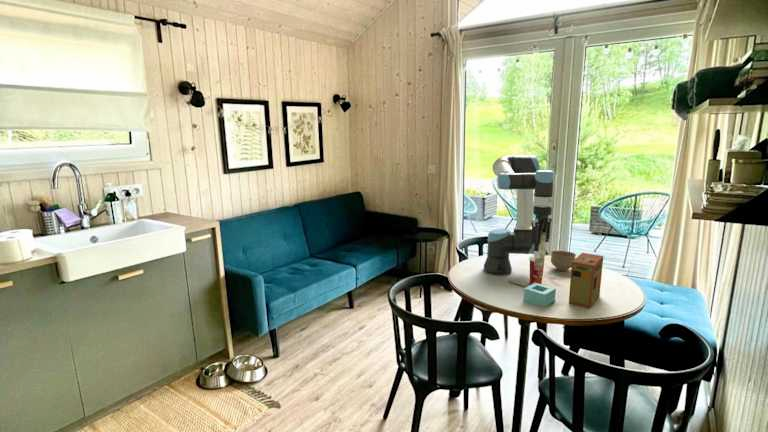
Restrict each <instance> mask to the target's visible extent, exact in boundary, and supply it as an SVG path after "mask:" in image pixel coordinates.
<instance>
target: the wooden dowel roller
mask: <svg viewBox="0 0 768 432" xmlns="http://www.w3.org/2000/svg"><path fill="white" fill-rule="evenodd" d="M545 238H546V232H543V231H542V234H541V240H540V244H541V253H540V259H539V258H535V263H534V266H535V267H537V268H543V267H545V261H544V258H545V257H544V255H545Z"/></svg>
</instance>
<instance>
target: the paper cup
mask: <svg viewBox="0 0 768 432" xmlns="http://www.w3.org/2000/svg"><path fill="white" fill-rule="evenodd" d="M528 259H529V284H530V285H532V284H534V283H538V284H542V283H543V276H544V267H545V266H544V267H543V268H537V267H535V266H534V263H535V258H534V254H531V255H530V256H529V258H528ZM545 261H546V259H545V257H544V262H545Z"/></svg>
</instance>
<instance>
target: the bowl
mask: <svg viewBox="0 0 768 432" xmlns="http://www.w3.org/2000/svg"><path fill="white" fill-rule="evenodd" d="M550 253H551V257H550V263H551V264H552V265H553V266H554V268H556V270H557V271H563V272H565V271H568V270H569V269H571V268H572V261H573V260H575V259H576V256H577V254H576V253H574V252H571V251H567V250H552V251H551V252H550Z"/></svg>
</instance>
